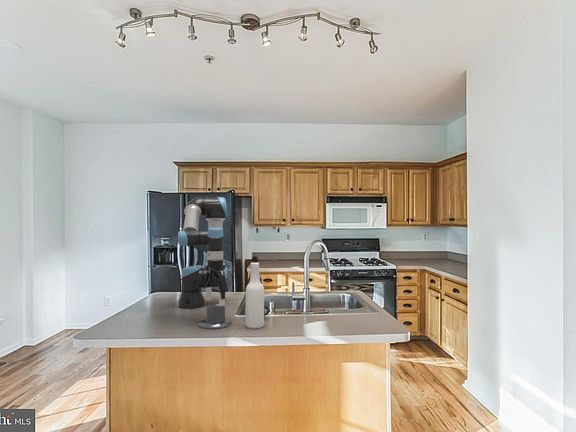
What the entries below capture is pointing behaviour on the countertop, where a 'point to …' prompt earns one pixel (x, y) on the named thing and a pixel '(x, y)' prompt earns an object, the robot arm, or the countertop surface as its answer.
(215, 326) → the hub
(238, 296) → the countertop surface
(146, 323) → the countertop surface
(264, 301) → the mug
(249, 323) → the alcohol
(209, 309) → the knob
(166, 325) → the countertop surface
